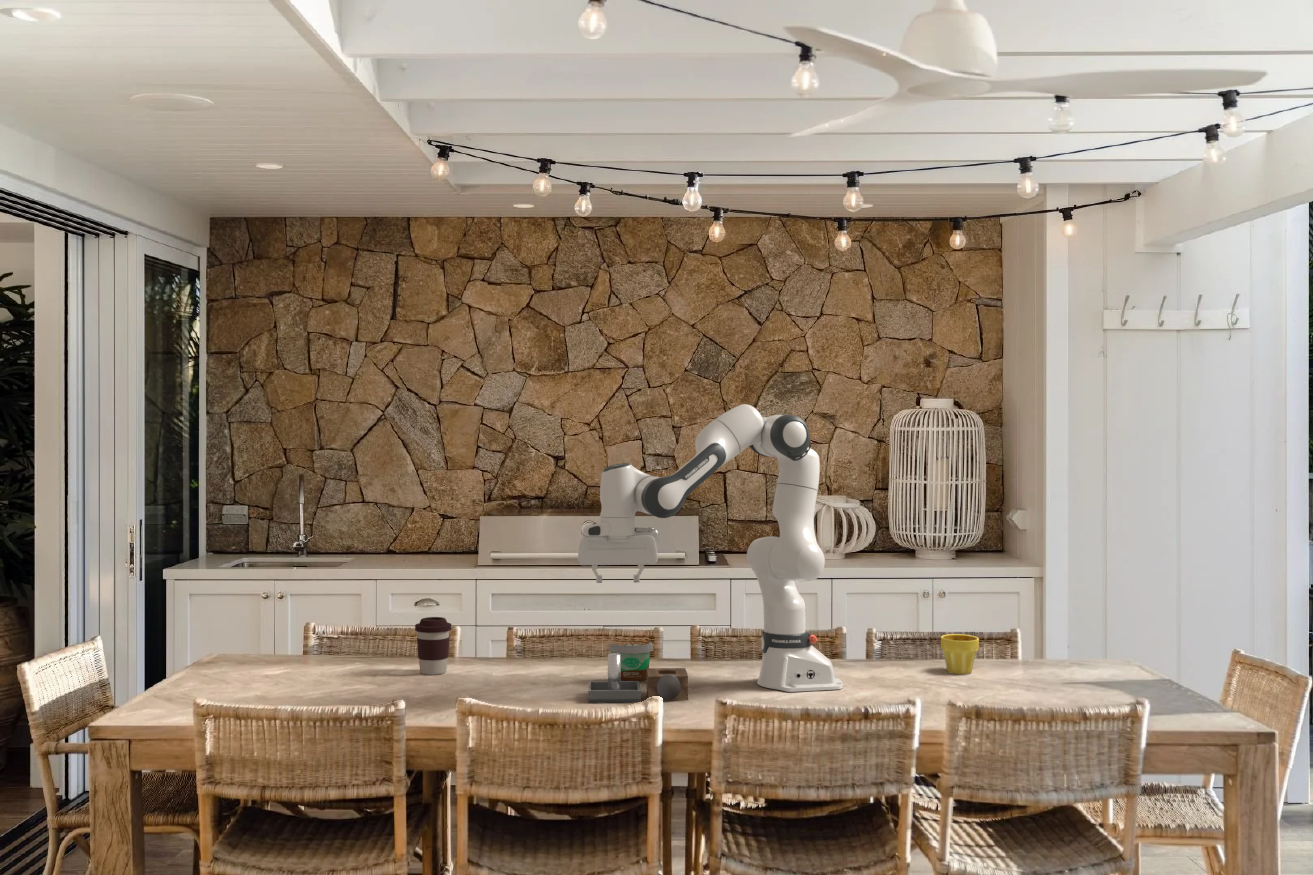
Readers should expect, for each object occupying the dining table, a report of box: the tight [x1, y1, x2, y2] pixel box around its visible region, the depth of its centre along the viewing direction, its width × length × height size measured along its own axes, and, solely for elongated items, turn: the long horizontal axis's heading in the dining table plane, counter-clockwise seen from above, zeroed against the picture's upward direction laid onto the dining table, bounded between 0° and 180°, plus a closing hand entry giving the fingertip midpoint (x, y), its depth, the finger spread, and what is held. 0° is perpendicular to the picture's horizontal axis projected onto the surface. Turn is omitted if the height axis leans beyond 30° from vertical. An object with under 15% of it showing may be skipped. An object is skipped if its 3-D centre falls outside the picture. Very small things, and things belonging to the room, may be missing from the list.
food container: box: [608, 640, 654, 683], centre depth 324 cm, size 12×6×10 cm, turn 105°
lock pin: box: [607, 652, 621, 690], centre depth 303 cm, size 3×3×10 cm
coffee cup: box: [414, 616, 453, 676], centre depth 333 cm, size 10×10×15 cm
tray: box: [587, 680, 642, 704], centre depth 304 cm, size 13×11×3 cm
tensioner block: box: [646, 667, 689, 701], centre depth 305 cm, size 10×12×6 cm
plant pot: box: [940, 633, 980, 675], centre depth 338 cm, size 10×10×10 cm
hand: (617, 582), depth 304 cm, fingers open, 8 cm apart
